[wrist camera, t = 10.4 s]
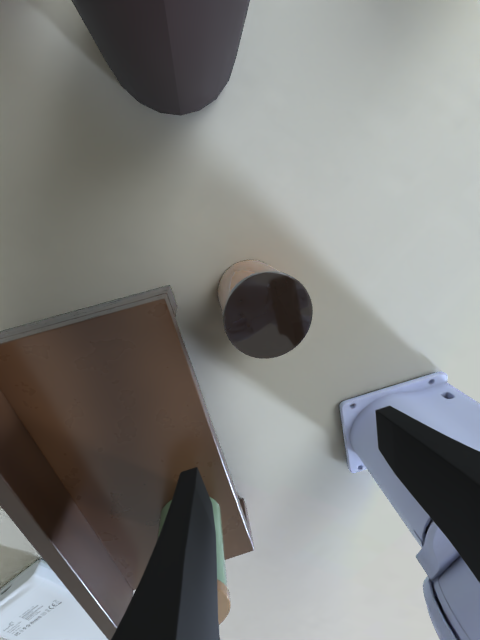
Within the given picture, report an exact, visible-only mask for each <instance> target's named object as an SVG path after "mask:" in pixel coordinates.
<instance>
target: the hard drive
mask: <svg viewBox="0 0 480 640" xmlns="http://www.w3.org/2000/svg"><path fill="white" fill-rule="evenodd" d="M0 638H3V639H6V640H108V639H107V638H106V636H105V635H104V634H103V633H102V631H101V630H100V629H99V628H98V626H97V625H96V624H95V623H94V621H93V620H92V619H91V618H90V616H89V615H88V614H87V613H86V612H85V610H84V609H83V608H82V607H81V605H80V604H79V603H78V602H77V600H76V599H75V598H74V597H73V595H72V594H71V593H70V592H69V590H68V589H67V588H66V587H65V585H64V584H63V583H62V582H61V580H60V579H59V578H58V577H57V575H56V574H55V573H54V572H53V570H52V569H51V568H50V567H49V565H48V564H47V563H46V562H45V561H43V560H41V559H39V560H37V561H36V562H34V563H33V564H32V565H31V566H29V567H28V568H27V569H25V570H24V571H23V572H22V573H20V574H19V575H18V576H16V577H15V578H14V579H13V580H11V581H10V582H9V583H7V584H6V585H5V586H4V587H2V588H1V589H0Z"/></svg>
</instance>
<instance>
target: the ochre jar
mask: <svg viewBox="0 0 480 640" xmlns="http://www.w3.org/2000/svg"><path fill="white" fill-rule="evenodd" d="M218 300H219V303H220V307H221V310H222V314H223V323H224V328H225V331H226V334H227V336H228V338H229V340H230V341H231V343H232V344H233V345H234V346H235V347H236V348H237V349H238V350H240V351H241V352H243V353H244V354H246V355H249V356H252V357H255V358H274V357H278V356H281V355H283V354H285V353H287V352H289V351H291V350H292V349H294V348H295V347H296V346H297V345H298V344H299V343H300V342H301V341H302V340H303V338H304V337H305V335H306V334H307V332H308V330H309V327H310V324H311V321H312V303H311V299H310V296H309V294H308V292H307V290H306V289H305V288H304V286H303V285H302V284H301V283H300V282H299V281H298V280H296V279H295V278H293V277H291V276H290V275H288V274H285V273H282V272H279V271H277V270H276V269H274V268H272V267H271V266H269V265H267V264H266V263H264V262H261V261H257V260H244V261H241V262H238V263H236V264H234V265H232V266H231V267H230V268H229V269H228V270H227V271H226V272H225V273H224V274H223V276H222V278H221V280H220V282H219V286H218Z"/></svg>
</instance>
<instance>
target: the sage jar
mask: <svg viewBox="0 0 480 640" xmlns="http://www.w3.org/2000/svg"><path fill="white" fill-rule="evenodd" d="M209 497H210V496H209ZM210 499H211V502H212V506H213V514H214V522H215V531H216V553H217V592H218V622H219V624H220V623H222V622H223V621H224V619H225V618H226V617H227V615H228V613H229V611H230V594H229V590H228V588H227V579H226V567H225V556H224V544H223V532H222V521H221V509H220V506H219V504H218V503H217V502H216V501H215V500H214V499H213V498H211V497H210ZM171 501H172V500H171ZM171 501H169V502H168V503H167V504H166V505H165V506H164V507H163V509H162V511H161V513H160V517H159V525H158V533H157V540H158V537H159V535H160V532H161V529H162V526H163V524H164V521H165V518H166V516H167V513H168V510H169V507H170V504H171ZM156 542H157V541H156Z"/></svg>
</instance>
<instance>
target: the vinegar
mask: <svg viewBox="0 0 480 640" xmlns="http://www.w3.org/2000/svg"><path fill="white" fill-rule="evenodd" d="M72 2H73V4H74V5H75V7H76V9H77V11H78V12H79V14H80V16H81V18H82V20H83V21H84V23H85V25H86V27H87V28H88V30H89V32H90V34H91V36H92V37H93V39H94V41H95V43H96V45H97V46H98V48H99V50H100V52H101V53H102V55H103V57H104V59H105V61H106V62H107V64H108V66H109V67H110V69H111V70H112V72H113V73H114V75H115V76H116V78H117V80H118V81H119V83H120V84H121V86H122V87H123V88H124V89H126V90H127V91H128V92H129V93H130V94H131V95H132V96H133V97H134V98H135V99H136V100H137V101H139V102H140V103H141V104H144V105H146V106H148V107H150V108H152V109H154V110H156V111H158V112H160V113H166V114H174V115H184V114H188V113H192V112H196V111H199V110H201V109H202V108H204V107H205V106H207V105H208V104H209V103H211V102H212V101H213V100H215V99H216V98H217V97H218V95H219V94H220V92H221V91H222V90H223V88H224V87H225V85H226V84H227V82H228V81H229V78H230V75H231V72H232V69H233V65H234V62H235V59H236V56H237V51H238V47H239V43H240V39H241V35H242V31H243V27H244V22H245V18H246V14H247V10H248V6H249V2H250V0H72Z"/></svg>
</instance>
